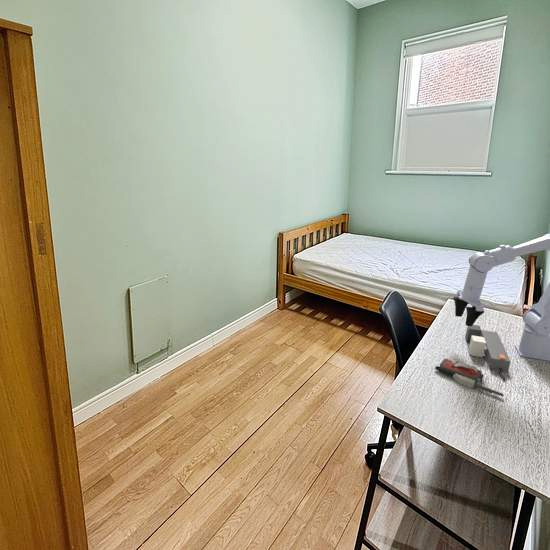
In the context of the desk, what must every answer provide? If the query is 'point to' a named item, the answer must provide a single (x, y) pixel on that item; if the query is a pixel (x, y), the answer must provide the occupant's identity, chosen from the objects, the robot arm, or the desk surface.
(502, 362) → the grey slotted block
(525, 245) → the robot arm
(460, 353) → the desk surface
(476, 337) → the block
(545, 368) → the desk surface
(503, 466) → the desk surface
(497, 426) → the desk surface
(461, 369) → the walkie-talkie
